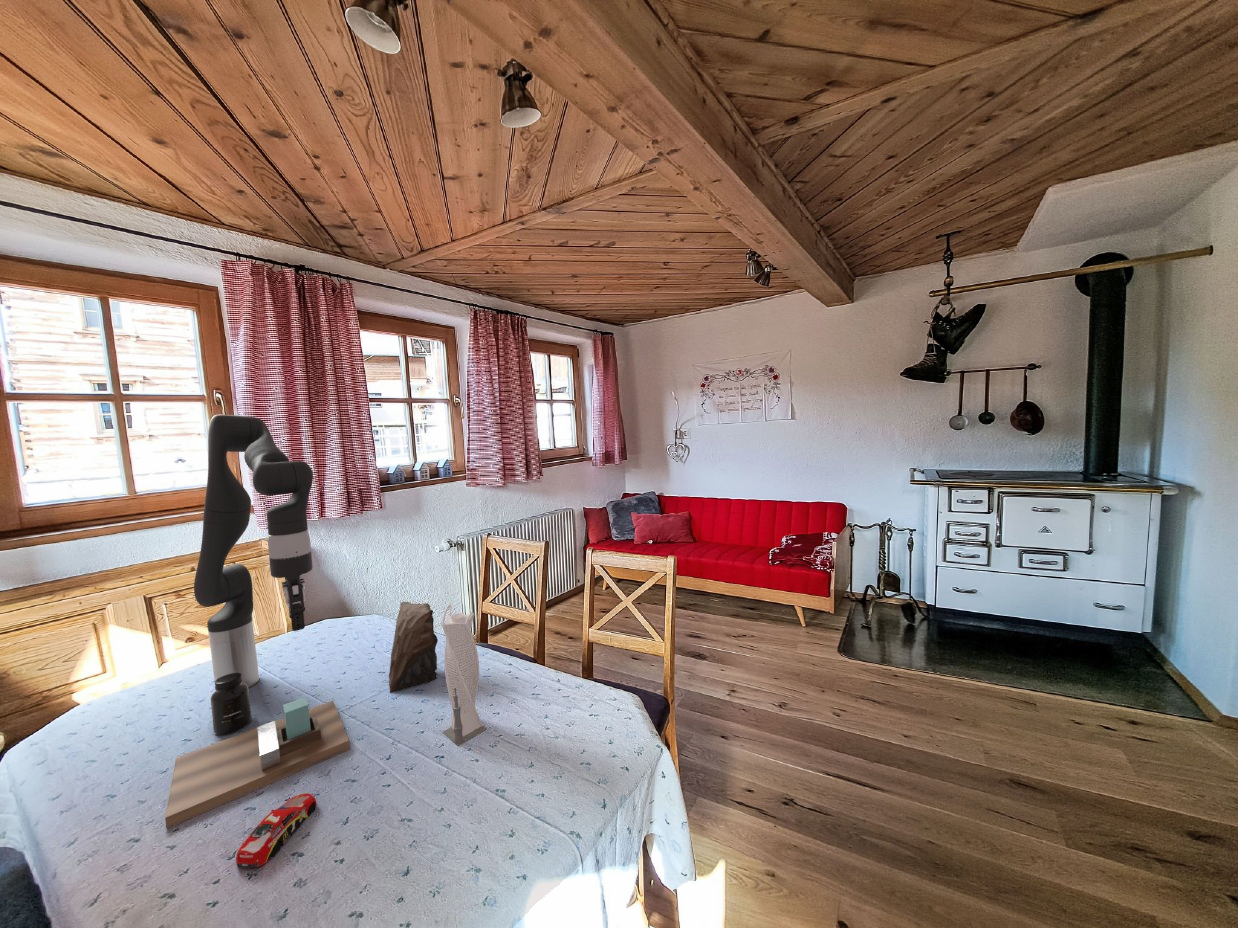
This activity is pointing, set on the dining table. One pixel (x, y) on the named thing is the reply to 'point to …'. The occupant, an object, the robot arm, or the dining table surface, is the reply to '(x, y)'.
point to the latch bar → (268, 745)
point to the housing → (249, 764)
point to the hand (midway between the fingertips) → (297, 623)
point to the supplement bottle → (230, 704)
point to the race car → (275, 831)
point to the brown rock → (413, 648)
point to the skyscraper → (461, 677)
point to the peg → (296, 718)
